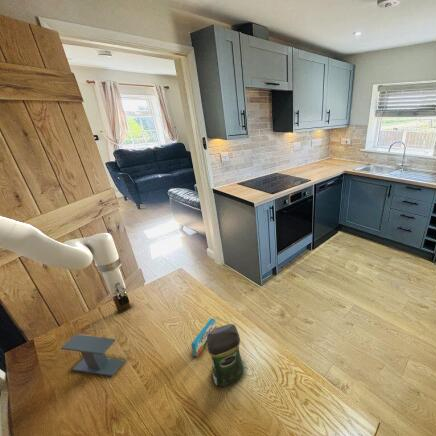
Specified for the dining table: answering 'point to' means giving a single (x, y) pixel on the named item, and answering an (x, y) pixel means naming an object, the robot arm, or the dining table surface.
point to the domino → (120, 308)
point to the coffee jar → (225, 354)
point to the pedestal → (93, 354)
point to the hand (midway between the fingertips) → (121, 298)
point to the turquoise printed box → (202, 337)
